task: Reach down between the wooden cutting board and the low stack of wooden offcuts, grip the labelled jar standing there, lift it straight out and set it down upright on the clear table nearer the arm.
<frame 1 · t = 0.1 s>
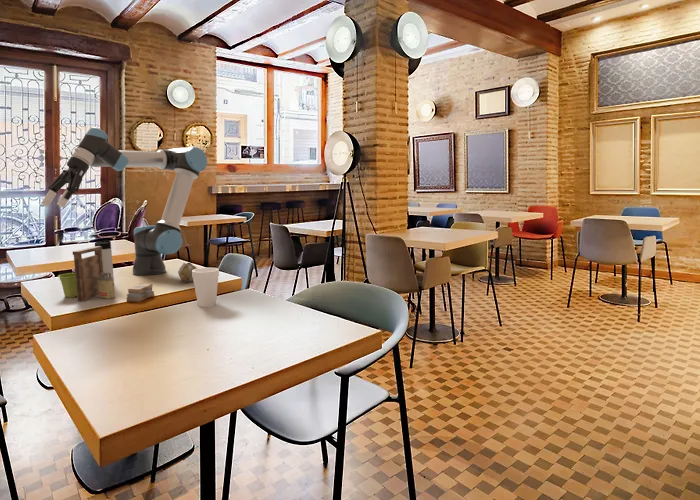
hand: (52, 205, 194), 36 cm above the table, fingers open, 13 cm apart
labelled jar: (107, 297, 195), on the table
plant pot: (73, 296, 198), on the table
ceramic sculpture: (190, 281, 225), on the table
travel mug: (106, 287, 215), on the table
offcut stack: (140, 298, 194), on the table
foam cup: (207, 305, 183), on the table
wooden cutting board: (91, 296, 196), on the table
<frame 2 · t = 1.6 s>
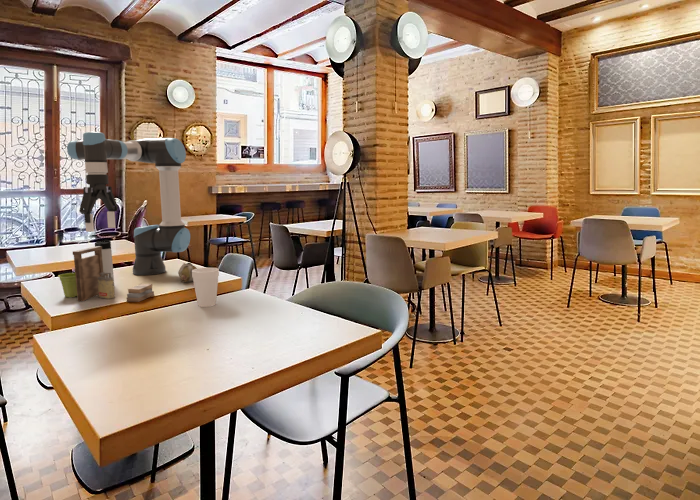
hand: (101, 229, 191), 27 cm above the table, fingers open, 13 cm apart
nothing on the table moved.
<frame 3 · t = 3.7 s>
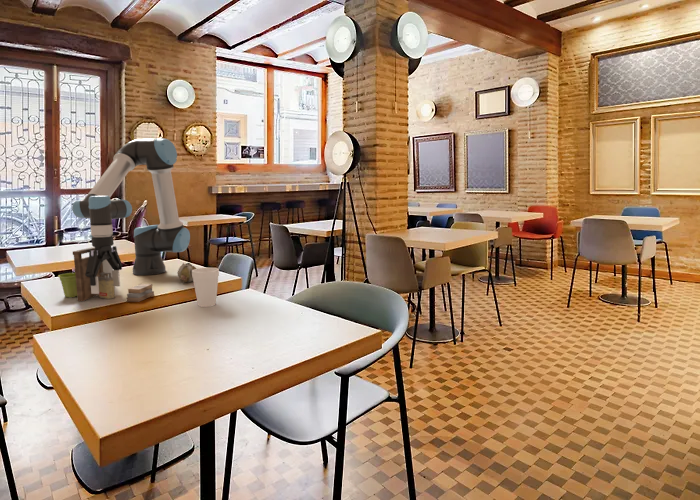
hand: (106, 289, 195), 3 cm above the table, fingers open, 13 cm apart
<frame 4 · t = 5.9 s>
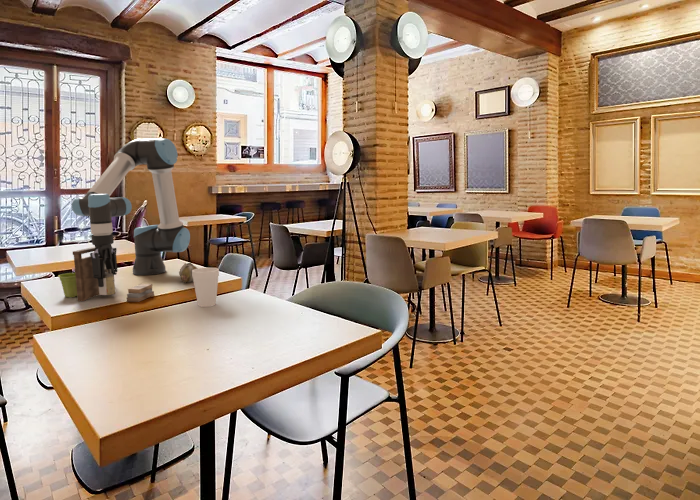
hand: (107, 292, 195), 2 cm above the table, fingers closed on labelled jar, 5 cm apart
labelled jar: (107, 294, 196), point 1 cm above the table, touching gripper
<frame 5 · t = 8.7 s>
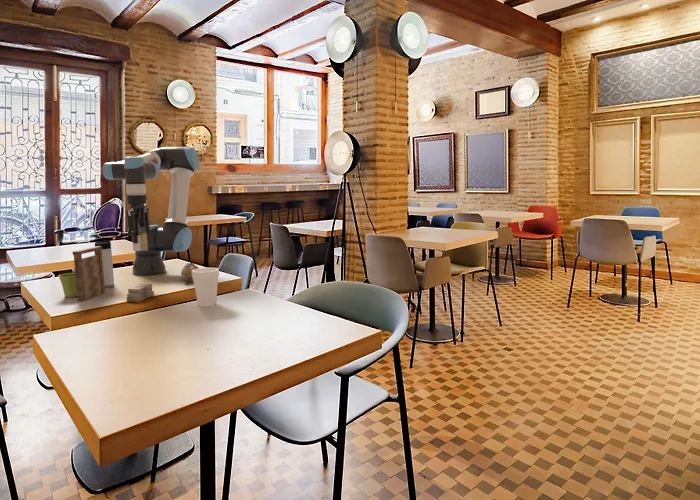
hand: (140, 249, 211), 16 cm above the table, fingers closed on labelled jar, 5 cm apart
labelled jar: (141, 250, 211), point 16 cm above the table, touching gripper
when the fingers open (1 cm above the table, at t = 11.9 s): labelled jar stays where it is, on the table.
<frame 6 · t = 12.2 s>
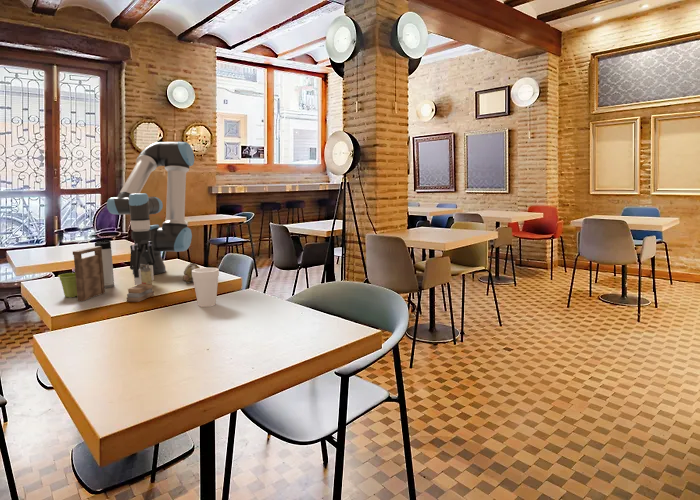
hand: (144, 282, 213), 2 cm above the table, fingers open, 9 cm apart
labelled jar: (144, 287, 214), on the table
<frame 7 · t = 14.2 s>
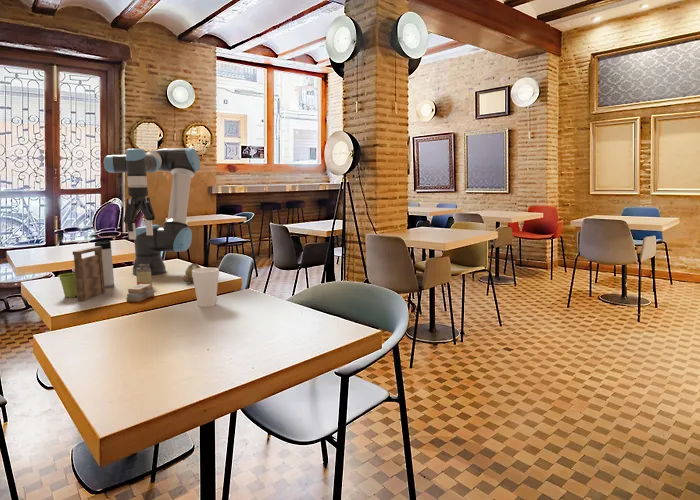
hand: (141, 237, 210), 21 cm above the table, fingers open, 13 cm apart
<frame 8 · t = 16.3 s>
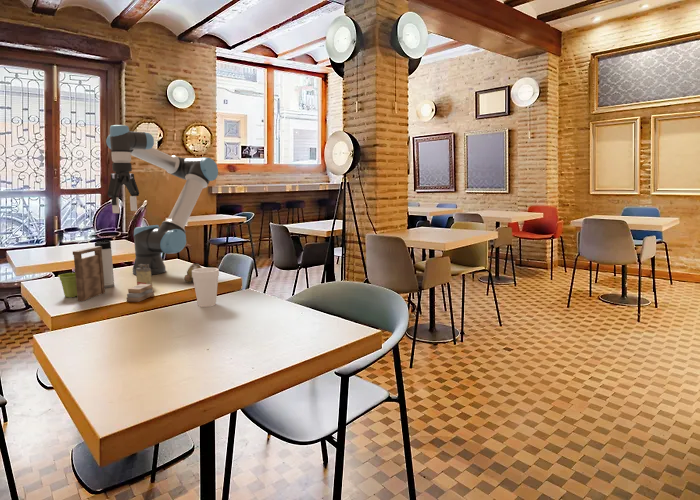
hand: (125, 212, 216), 32 cm above the table, fingers open, 13 cm apart
at the end: labelled jar inside the target area (0.3 cm from its centre), on the table; labelled jar tilted 0°; the gripper is holding nothing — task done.
